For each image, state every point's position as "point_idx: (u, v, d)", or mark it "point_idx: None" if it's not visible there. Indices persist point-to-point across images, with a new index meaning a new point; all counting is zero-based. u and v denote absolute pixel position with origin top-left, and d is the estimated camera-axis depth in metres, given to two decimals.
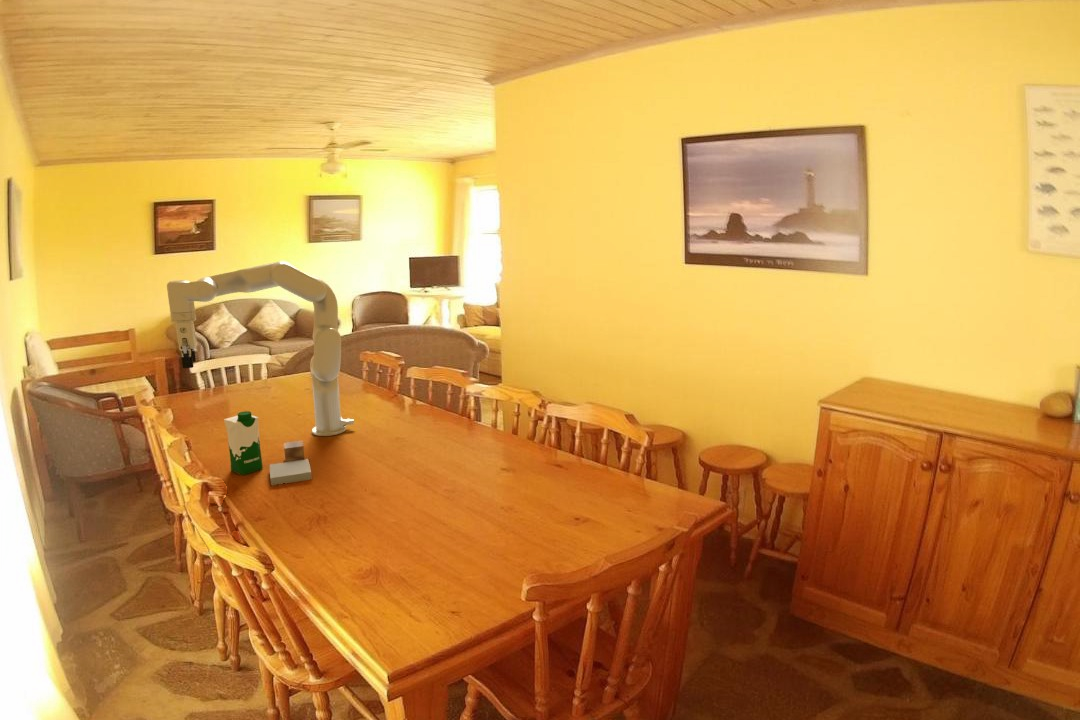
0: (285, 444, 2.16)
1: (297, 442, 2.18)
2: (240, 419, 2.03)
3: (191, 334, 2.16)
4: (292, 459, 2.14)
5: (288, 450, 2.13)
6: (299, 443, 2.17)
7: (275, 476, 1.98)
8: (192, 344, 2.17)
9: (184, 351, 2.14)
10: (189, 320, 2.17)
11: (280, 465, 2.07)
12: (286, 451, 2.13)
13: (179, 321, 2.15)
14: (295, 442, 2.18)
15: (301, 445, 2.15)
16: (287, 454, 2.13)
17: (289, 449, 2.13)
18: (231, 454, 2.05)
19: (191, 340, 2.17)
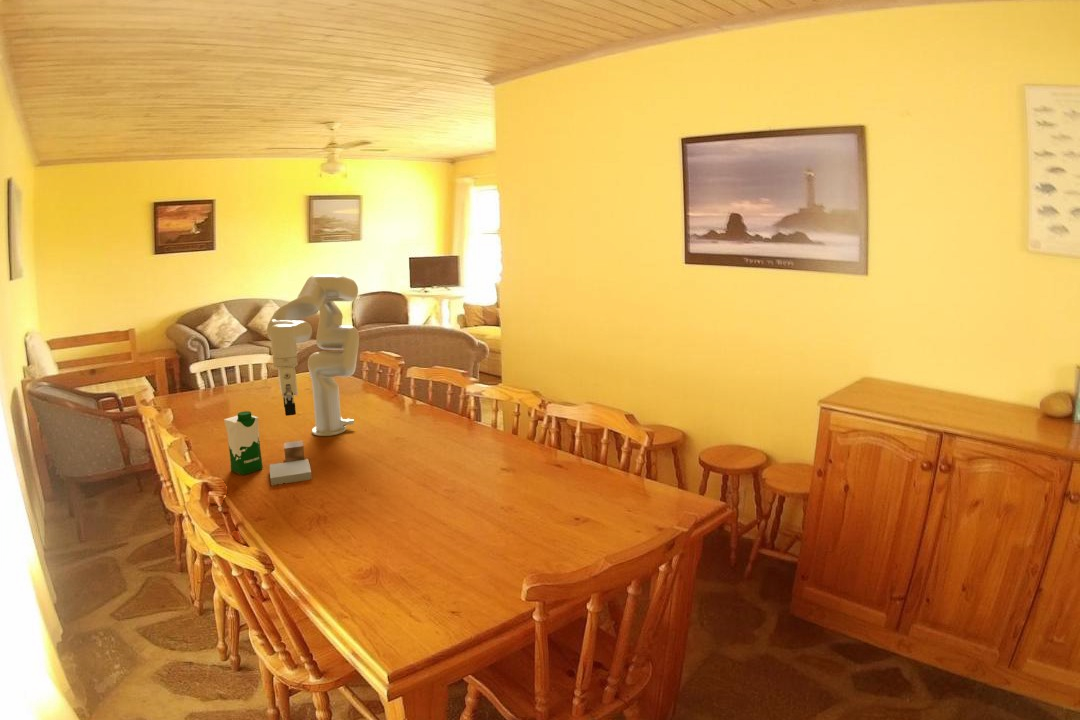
0: (285, 444, 2.16)
1: (297, 442, 2.18)
2: (240, 419, 2.03)
3: (294, 380, 2.08)
4: (292, 459, 2.14)
5: (288, 450, 2.13)
6: (299, 443, 2.17)
7: (275, 476, 1.98)
8: (295, 390, 2.08)
9: (288, 398, 2.05)
10: (292, 365, 2.08)
11: (280, 465, 2.07)
12: (286, 451, 2.13)
13: (283, 367, 2.06)
14: (295, 442, 2.18)
15: (301, 445, 2.15)
16: (287, 454, 2.13)
17: (289, 449, 2.13)
18: (231, 454, 2.05)
19: (294, 386, 2.08)
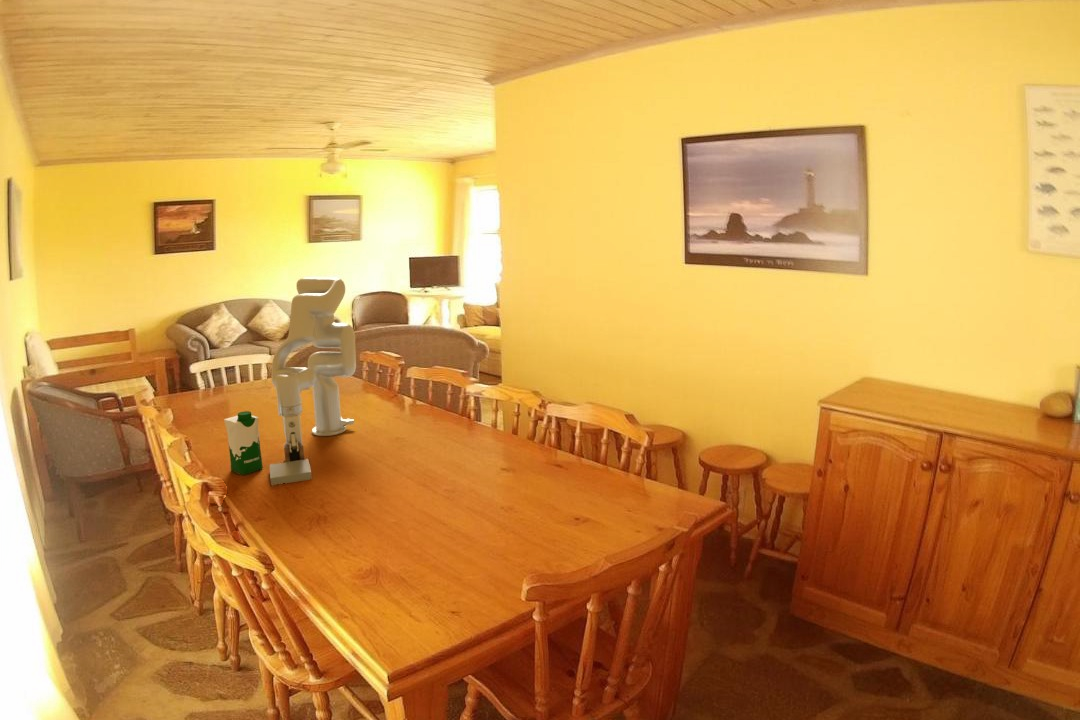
0: (285, 444, 2.16)
1: None
2: (240, 419, 2.03)
3: (299, 428, 2.11)
4: None
5: (288, 450, 2.13)
6: (299, 443, 2.17)
7: (275, 476, 1.98)
8: (300, 438, 2.12)
9: (293, 448, 2.10)
10: (297, 413, 2.12)
11: (280, 465, 2.07)
12: (286, 451, 2.13)
13: (287, 415, 2.10)
14: None
15: (301, 445, 2.15)
16: (287, 454, 2.13)
17: (289, 449, 2.13)
18: (231, 454, 2.05)
19: (299, 434, 2.11)
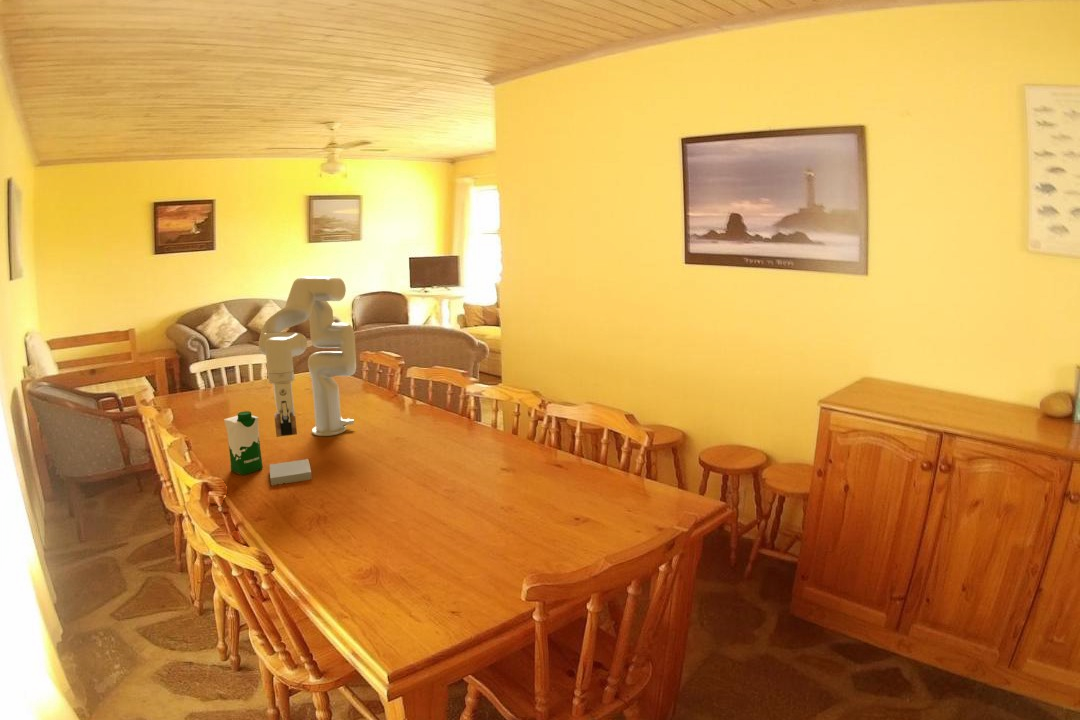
0: (275, 414, 2.00)
1: (289, 412, 2.02)
2: (240, 419, 2.03)
3: (291, 396, 1.96)
4: None
5: (279, 421, 1.97)
6: (291, 413, 2.01)
7: (275, 476, 1.98)
8: (292, 407, 1.96)
9: (285, 418, 1.95)
10: (288, 381, 1.96)
11: (280, 465, 2.07)
12: (277, 421, 1.97)
13: (278, 382, 1.94)
14: None
15: (293, 415, 2.00)
16: (278, 425, 1.97)
17: (280, 419, 1.97)
18: (231, 454, 2.05)
19: (291, 403, 1.96)
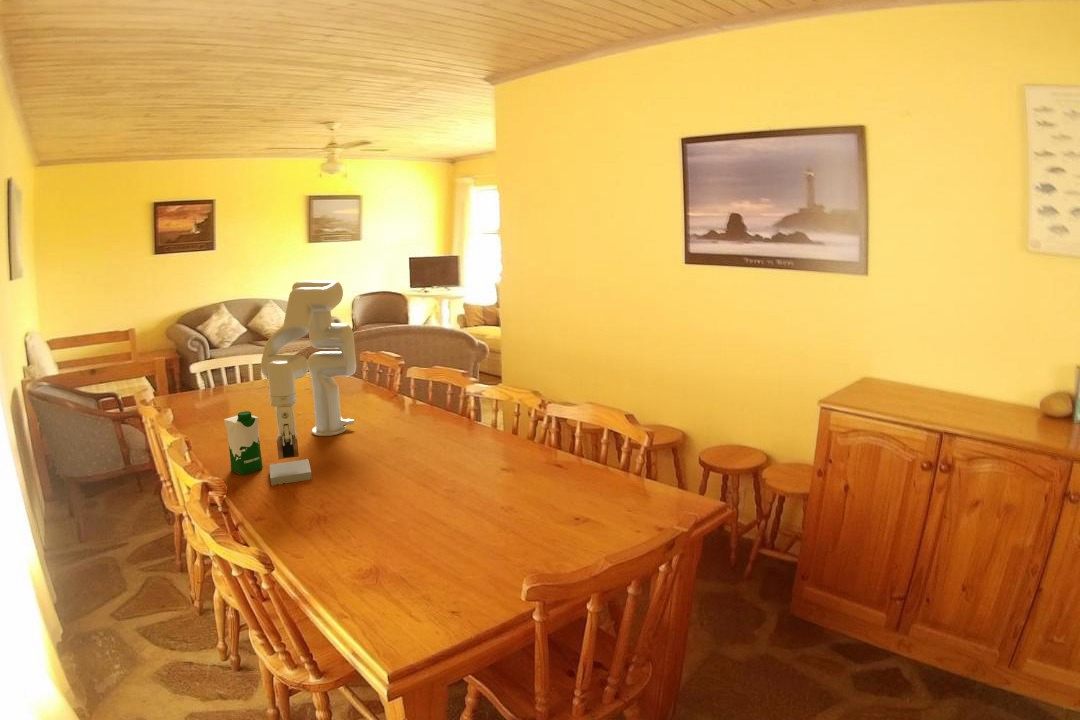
0: (277, 437, 2.02)
1: None
2: (240, 419, 2.03)
3: (293, 419, 1.97)
4: None
5: (281, 443, 1.99)
6: (293, 436, 2.03)
7: (275, 476, 1.98)
8: (294, 430, 1.98)
9: (287, 441, 1.96)
10: (290, 404, 1.98)
11: (280, 465, 2.07)
12: (279, 444, 1.99)
13: (280, 405, 1.96)
14: None
15: (295, 438, 2.01)
16: (280, 447, 1.99)
17: (282, 442, 1.99)
18: (231, 454, 2.05)
19: (293, 426, 1.97)
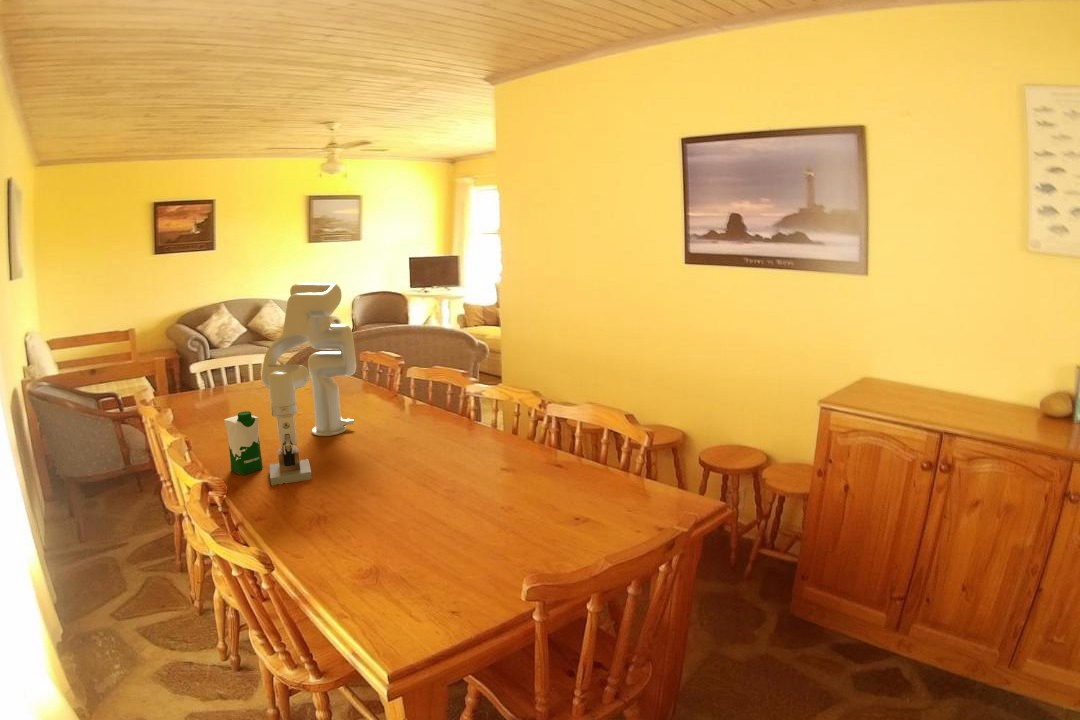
0: (279, 450, 2.03)
1: None
2: (240, 419, 2.03)
3: (294, 429, 1.98)
4: (286, 467, 2.01)
5: (283, 457, 2.00)
6: (294, 449, 2.04)
7: (275, 476, 1.98)
8: (295, 440, 1.99)
9: (288, 449, 1.95)
10: (291, 414, 1.98)
11: None
12: (280, 458, 2.00)
13: (281, 416, 1.97)
14: None
15: (296, 451, 2.02)
16: (281, 461, 2.00)
17: (283, 456, 2.00)
18: (231, 454, 2.05)
19: (294, 436, 1.98)
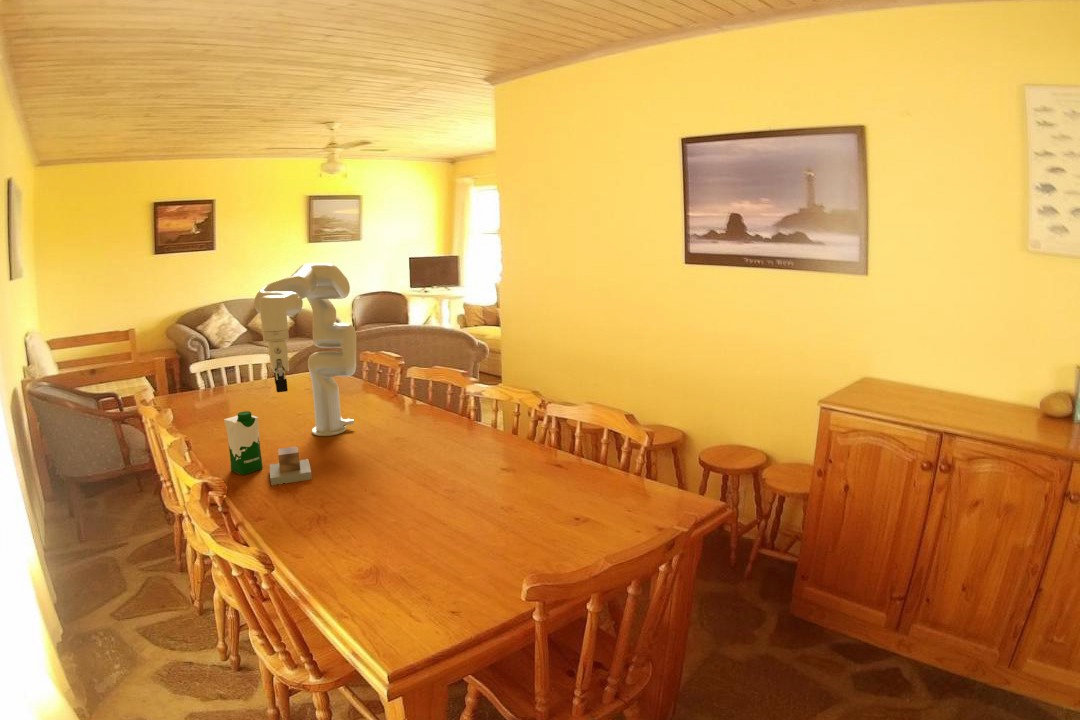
0: (279, 450, 2.03)
1: (292, 448, 2.05)
2: (240, 419, 2.03)
3: (286, 355, 1.96)
4: (286, 467, 2.01)
5: (283, 457, 2.00)
6: (294, 449, 2.04)
7: (275, 476, 1.98)
8: (287, 365, 1.97)
9: (280, 374, 1.93)
10: (283, 339, 1.96)
11: None
12: (280, 458, 2.00)
13: (273, 340, 1.95)
14: (290, 448, 2.05)
15: (296, 451, 2.02)
16: (281, 461, 2.00)
17: (283, 456, 2.00)
18: (231, 454, 2.05)
19: (286, 361, 1.96)
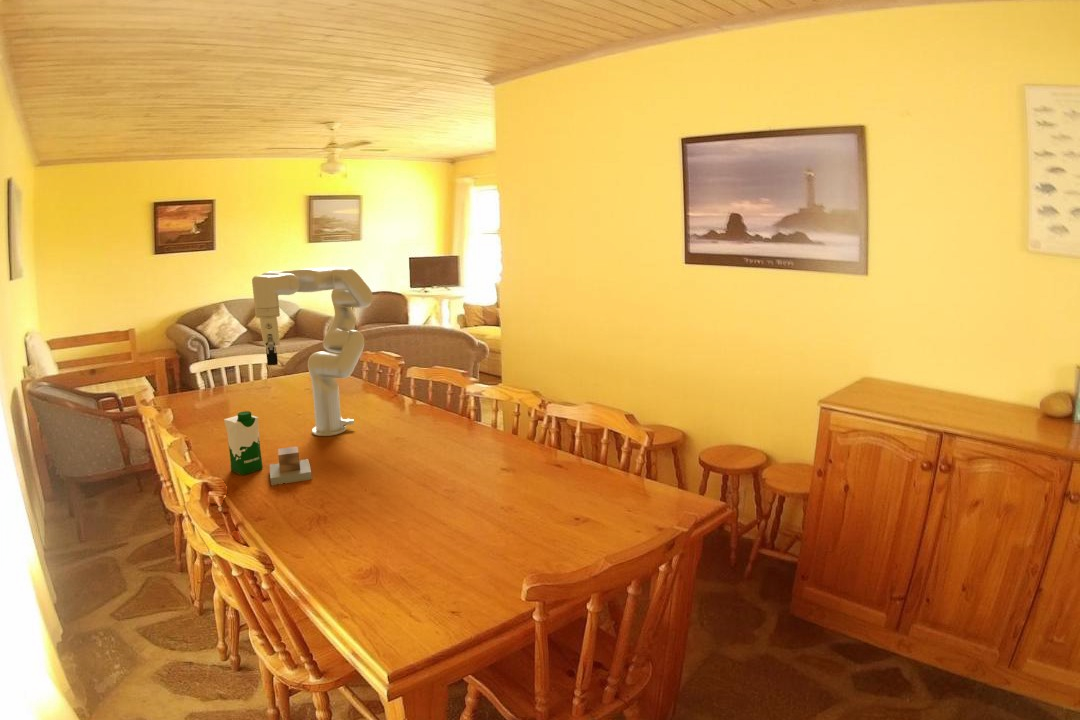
0: (279, 450, 2.03)
1: (292, 448, 2.05)
2: (240, 419, 2.03)
3: (276, 330, 2.11)
4: (286, 467, 2.01)
5: (283, 457, 2.00)
6: (294, 449, 2.04)
7: (275, 476, 1.98)
8: (277, 340, 2.11)
9: (270, 347, 2.08)
10: (274, 316, 2.11)
11: None
12: (280, 458, 2.00)
13: (264, 317, 2.09)
14: (290, 448, 2.05)
15: (296, 451, 2.02)
16: (281, 461, 2.00)
17: (283, 456, 2.00)
18: (231, 454, 2.05)
19: (276, 336, 2.11)
